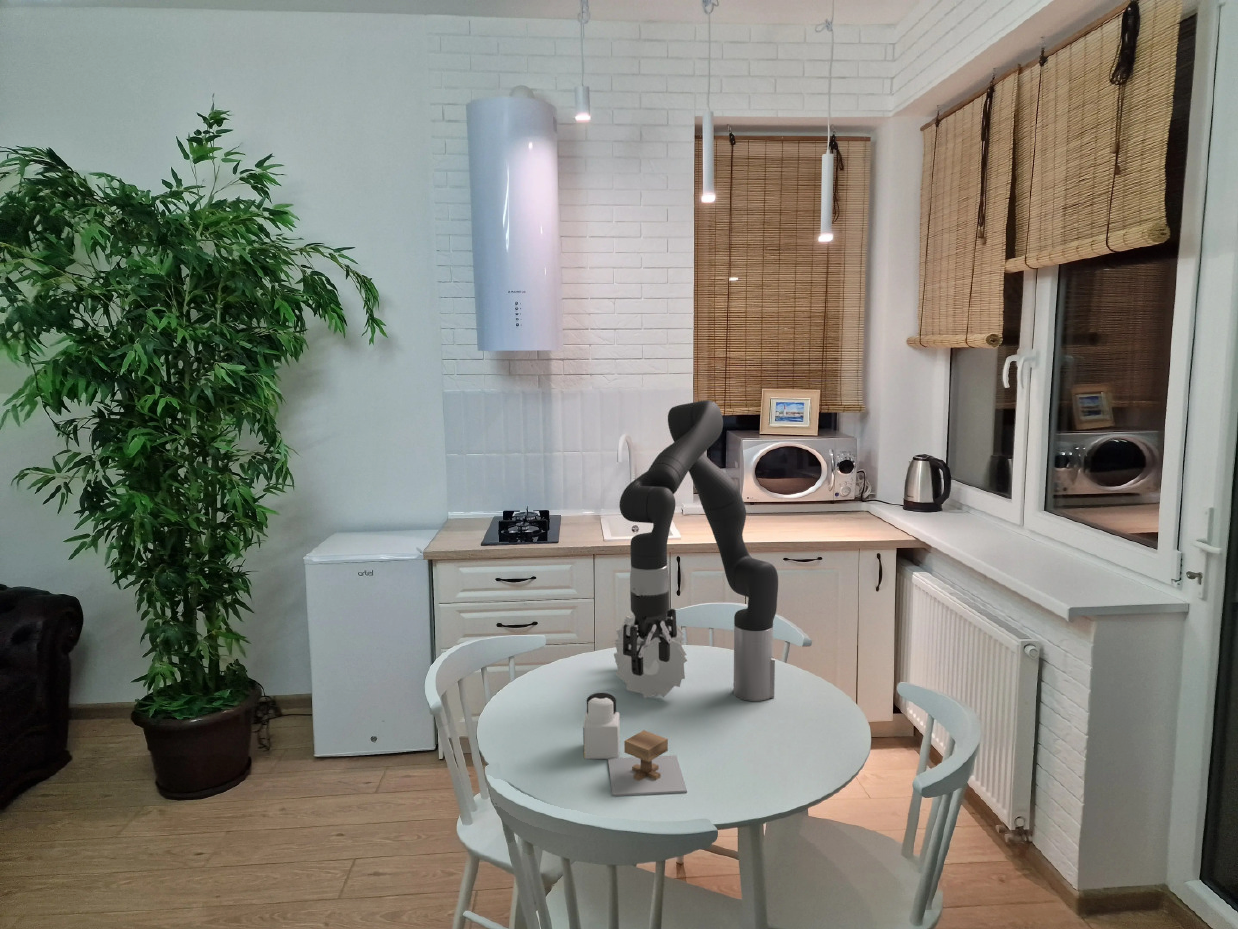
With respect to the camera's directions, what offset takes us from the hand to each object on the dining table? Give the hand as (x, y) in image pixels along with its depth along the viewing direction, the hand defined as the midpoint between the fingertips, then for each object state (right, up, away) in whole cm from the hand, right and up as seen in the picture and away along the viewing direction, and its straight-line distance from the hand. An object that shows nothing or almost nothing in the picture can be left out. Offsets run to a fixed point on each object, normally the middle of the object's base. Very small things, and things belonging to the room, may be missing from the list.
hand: (651, 667), depth 164 cm
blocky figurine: (-10, -20, +10) cm, 24 cm away
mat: (-1, -21, -1) cm, 21 cm away
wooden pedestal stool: (-1, -21, -1) cm, 21 cm away
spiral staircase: (+1, -15, +45) cm, 48 cm away
